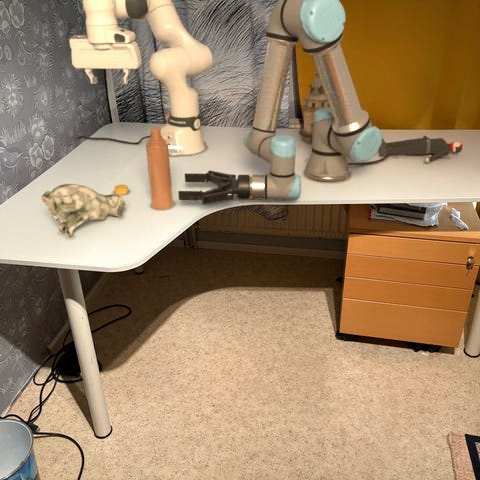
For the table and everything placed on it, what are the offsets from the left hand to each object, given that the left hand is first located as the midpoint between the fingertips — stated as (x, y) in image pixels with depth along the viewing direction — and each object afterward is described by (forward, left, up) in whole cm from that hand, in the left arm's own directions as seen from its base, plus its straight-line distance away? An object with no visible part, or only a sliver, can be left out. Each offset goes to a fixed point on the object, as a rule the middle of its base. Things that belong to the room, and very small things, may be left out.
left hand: (109, 83), depth 160 cm
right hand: (+23, +4, -29) cm, 37 cm away
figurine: (+9, -23, -36) cm, 43 cm away
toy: (+70, +87, -36) cm, 117 cm away
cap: (-1, 0, -34) cm, 34 cm away
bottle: (+17, 0, -36) cm, 40 cm away
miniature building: (+29, +81, -36) cm, 93 cm away
